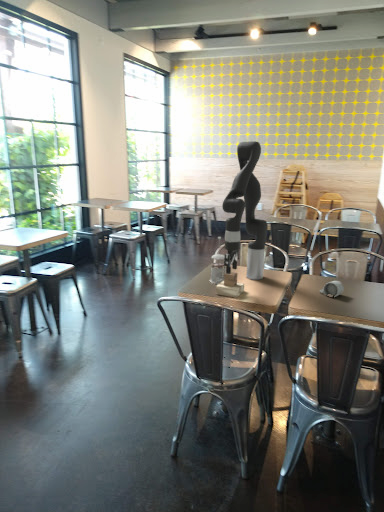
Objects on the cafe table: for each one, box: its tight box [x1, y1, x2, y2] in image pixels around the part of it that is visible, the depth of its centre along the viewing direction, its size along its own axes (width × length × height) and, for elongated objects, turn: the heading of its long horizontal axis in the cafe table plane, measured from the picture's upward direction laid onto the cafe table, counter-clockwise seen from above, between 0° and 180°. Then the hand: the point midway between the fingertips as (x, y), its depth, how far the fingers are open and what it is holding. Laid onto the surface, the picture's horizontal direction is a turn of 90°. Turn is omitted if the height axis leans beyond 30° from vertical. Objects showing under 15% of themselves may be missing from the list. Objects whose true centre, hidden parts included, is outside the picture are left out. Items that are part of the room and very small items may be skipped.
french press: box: [208, 236, 226, 285], centre depth 206 cm, size 10×12×25 cm
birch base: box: [215, 281, 245, 298], centre depth 192 cm, size 11×11×4 cm
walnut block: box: [224, 271, 238, 287], centre depth 190 cm, size 5×5×6 cm
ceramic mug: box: [319, 280, 345, 298], centre depth 191 cm, size 11×8×8 cm
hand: (231, 271), depth 189 cm, fingers open, 8 cm apart
